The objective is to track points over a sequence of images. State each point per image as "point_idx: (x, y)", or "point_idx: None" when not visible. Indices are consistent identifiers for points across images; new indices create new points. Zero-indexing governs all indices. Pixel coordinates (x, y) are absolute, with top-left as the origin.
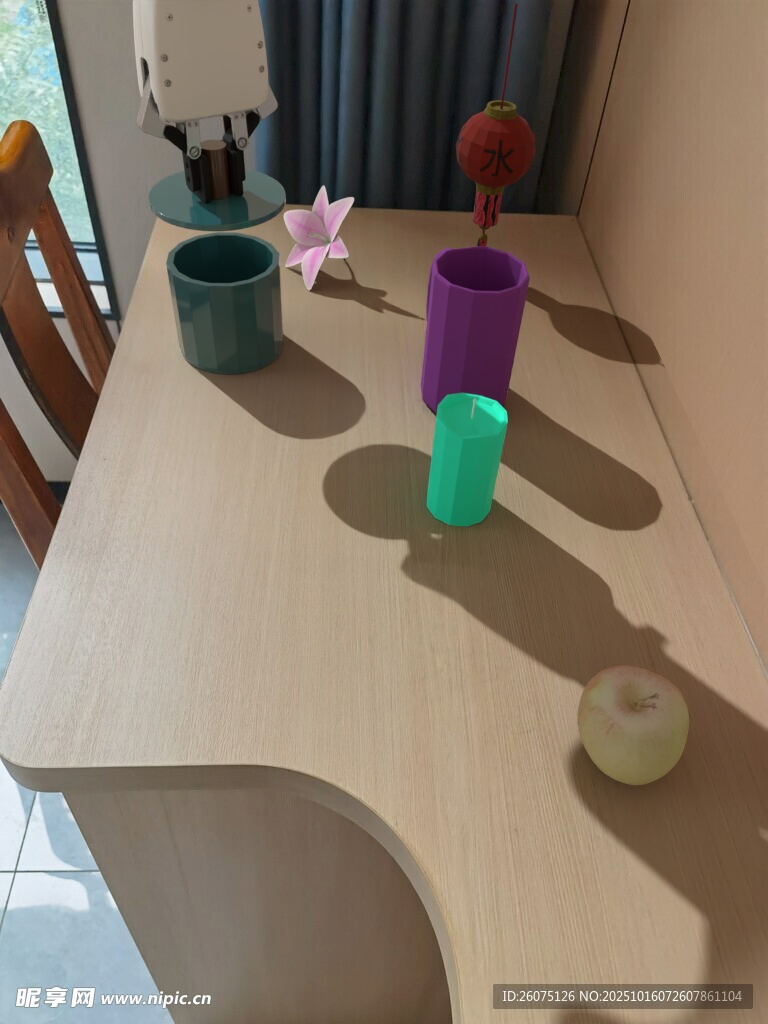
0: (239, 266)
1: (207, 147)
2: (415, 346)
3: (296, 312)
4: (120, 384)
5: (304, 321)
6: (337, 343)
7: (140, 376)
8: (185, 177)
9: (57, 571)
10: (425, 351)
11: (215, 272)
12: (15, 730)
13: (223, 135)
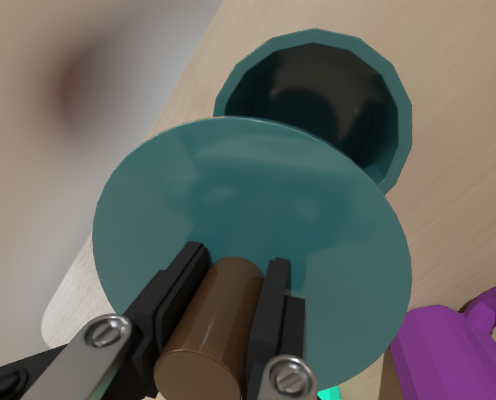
0: (370, 77)
1: (170, 390)
2: (482, 256)
3: (432, 102)
4: (169, 111)
5: (421, 129)
6: (413, 195)
7: (192, 111)
8: (152, 278)
9: (73, 270)
10: (418, 356)
11: (334, 54)
12: (43, 331)
13: (252, 388)
